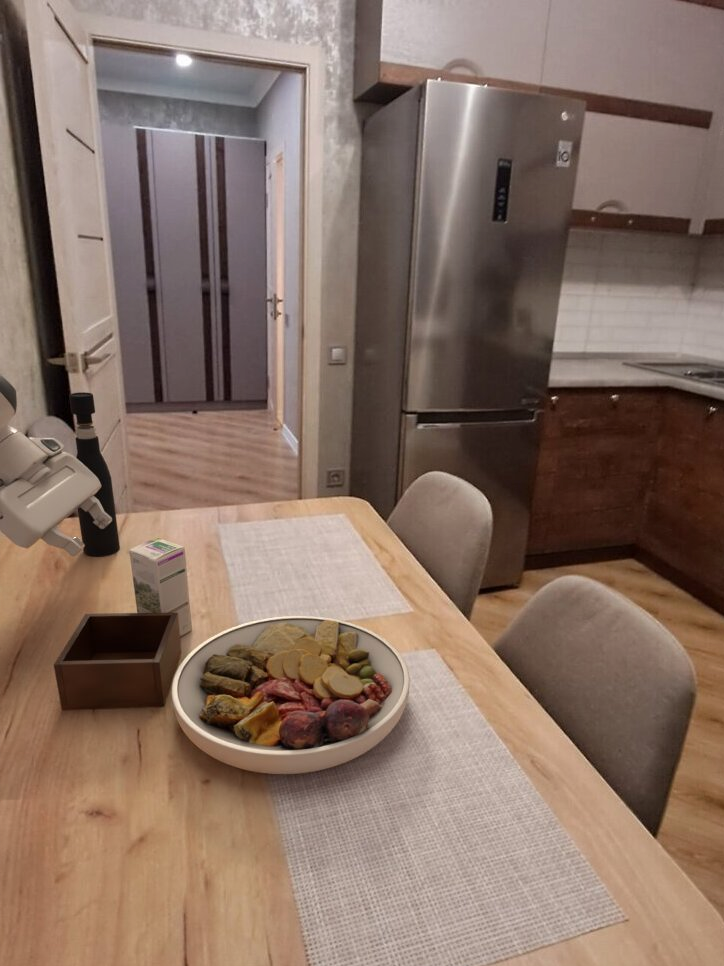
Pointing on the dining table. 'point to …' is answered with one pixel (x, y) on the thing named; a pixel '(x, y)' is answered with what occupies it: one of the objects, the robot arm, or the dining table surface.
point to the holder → (119, 661)
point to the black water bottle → (91, 457)
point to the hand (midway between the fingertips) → (94, 537)
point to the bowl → (290, 694)
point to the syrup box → (161, 580)
